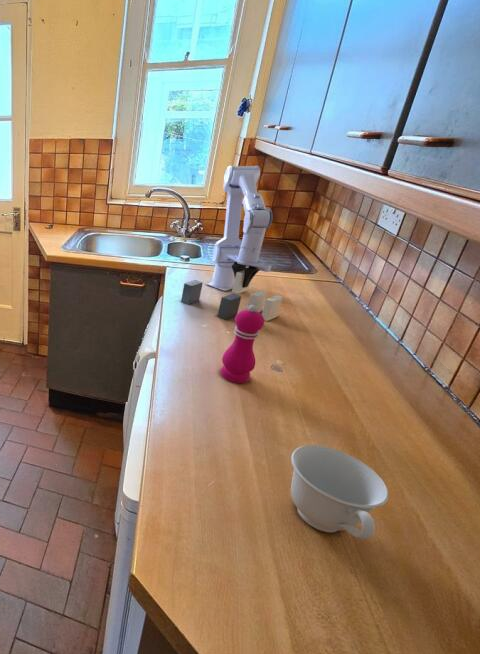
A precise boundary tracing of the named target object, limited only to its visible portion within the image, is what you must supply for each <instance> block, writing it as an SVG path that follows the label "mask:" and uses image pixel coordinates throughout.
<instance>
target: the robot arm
mask: <svg viewBox="0 0 480 654" xmlns="http://www.w3.org/2000/svg"><path fill="white" fill-rule="evenodd" d="M260 177H261V168H260V167H259V165H252V166H251V165H249V166H248V165H245V166H244V165H242V166H241V165H240V166H239V165H235V166H234V165H229V166H228V167H227V168H226V170H225V173H224V176H223V186H222V187H223V189H222V191H224V192H226V193H227V197H226V199H227V202H226V210H225V218H224V219H225V220H224V228H223V229H224V230H223V237H222V238H221V239H219V240H218V241H216V242H215V244H214V246H213V250H212V261H213V263H214V265H215V266H214V270H213V275H212V278H211V279H212V280H211V281H209V282H207V283H206V285H207V286H209V287H211V288H215V289H218V290H221V291H224V292H226V291H230V290H232V289H233V285H234V281H235V277H236V273H237V272H240V271H243V270H244V281H243V285H242V287H243V288H245V287H248V285H249V286H250V284H249V283H251V281H252V280H253V278H254V277H255V276H256V274H258V273H259V272H260V271H262V272H264V273H269V272H271V270H272V267H273V265H272V264H268V263H266V262H264V261H261V260H260V259H259V257H260V254H261V251H262V250H261V249H262V246H263V242H264V239H265V236H266V235H265V234H266V231H267V229H269V228H270V227H271V225H272V222H273V211H272V209H269V207H266V204H265V201H264V197H263V195H262V194H261V193H259V192H258V188H257V187H258V186H257V183H258V181H259V180H260ZM242 207H243V211H244V214H245V215H244V217H243V227H242V232H243V235H242V240H241V239H240V238H239V237H240V224H241V218H242V217H241V215H242Z"/></svg>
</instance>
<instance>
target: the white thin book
mask: <svg viewBox="0 0 480 654" xmlns="http://www.w3.org/2000/svg"><path fill="white" fill-rule="evenodd" d="M243 281H244V270H243V271H240V272H237V273H236V277H235V281H234V285H233V288H232V289H231V292H232V293H234V294H237V295H239V294H240V293H243V292H246V291H248V290H249V287H250V283H251V282H250V283H249V285H248V287H245V288H243V287H242V285H243Z"/></svg>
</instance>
